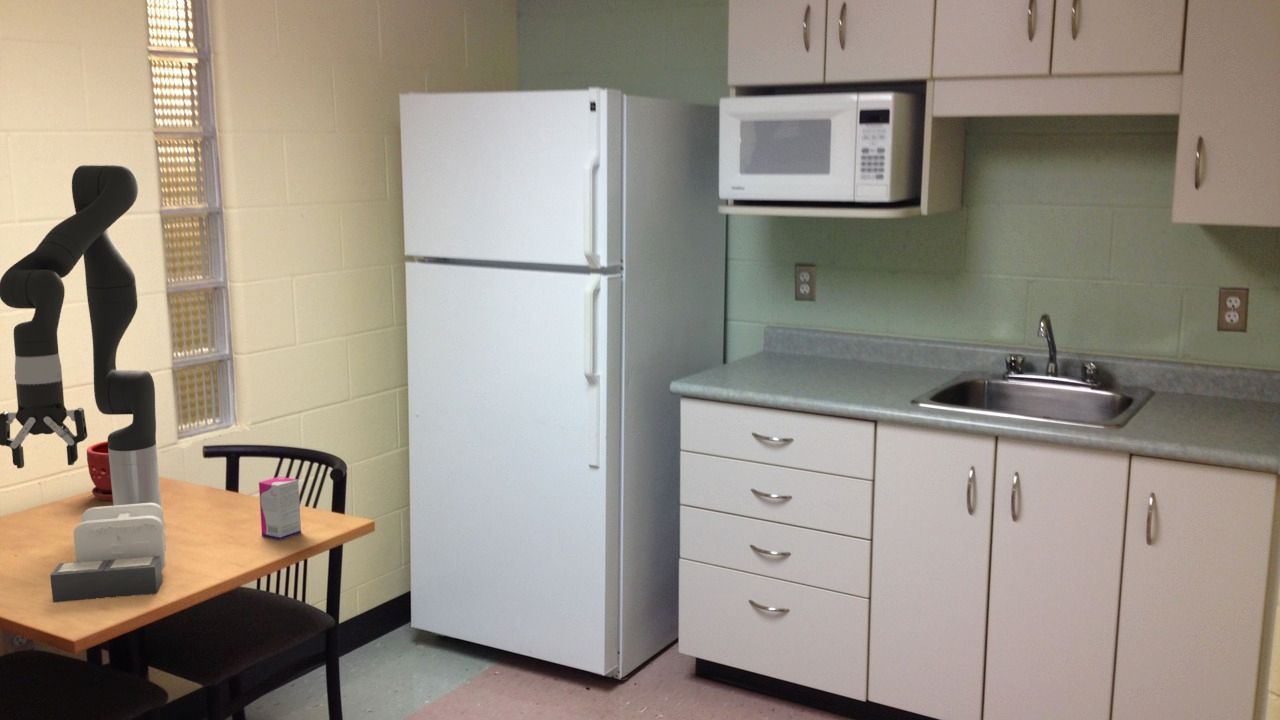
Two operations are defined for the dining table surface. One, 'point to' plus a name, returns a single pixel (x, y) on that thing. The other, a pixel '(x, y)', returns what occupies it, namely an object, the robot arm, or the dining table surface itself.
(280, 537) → the supplement box
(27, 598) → the dining table surface
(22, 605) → the dining table surface
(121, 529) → the cable organizer
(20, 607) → the dining table surface
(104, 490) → the plant pot
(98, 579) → the block
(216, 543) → the dining table surface
